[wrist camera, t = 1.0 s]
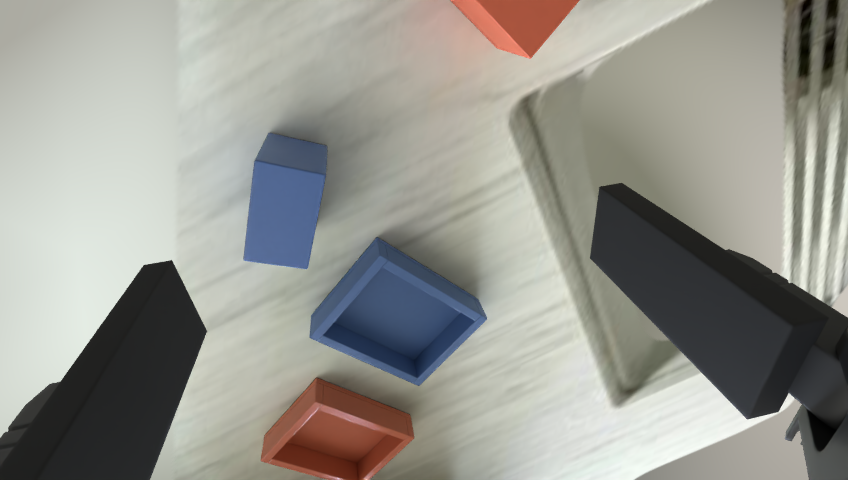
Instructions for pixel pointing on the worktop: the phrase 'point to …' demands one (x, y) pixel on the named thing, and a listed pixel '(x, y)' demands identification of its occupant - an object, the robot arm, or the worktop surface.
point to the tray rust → (336, 434)
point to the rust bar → (516, 21)
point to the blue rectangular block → (285, 201)
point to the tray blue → (396, 314)
